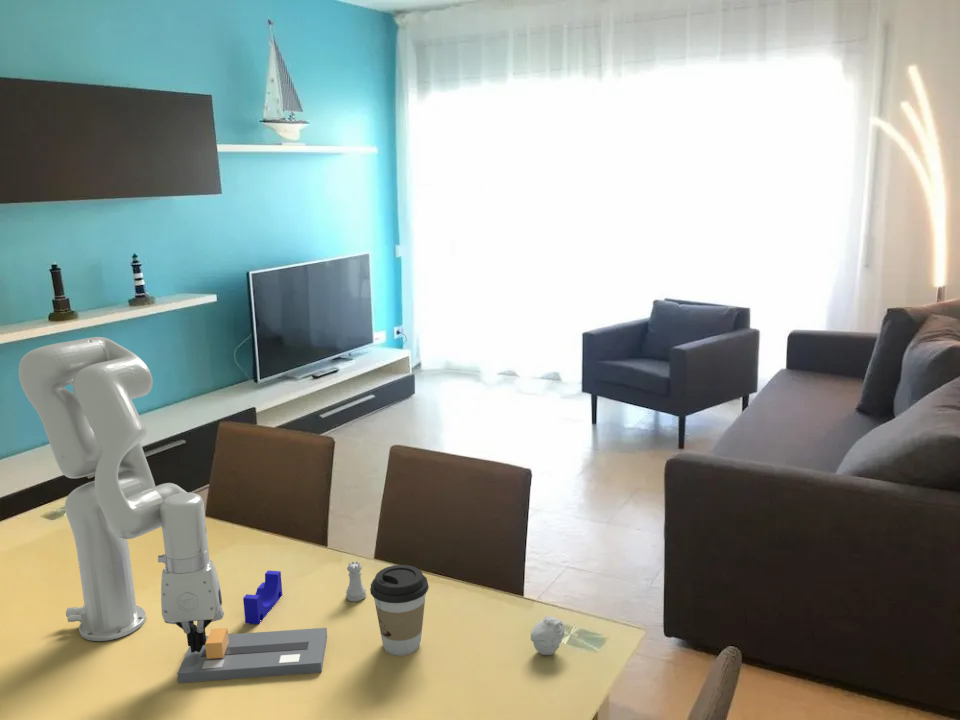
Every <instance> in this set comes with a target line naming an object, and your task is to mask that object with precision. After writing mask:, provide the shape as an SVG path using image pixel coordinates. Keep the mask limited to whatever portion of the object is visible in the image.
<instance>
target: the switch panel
mask: <svg viewBox="0 0 960 720" xmlns="http://www.w3.org/2000/svg"><path fill="white" fill-rule="evenodd" d="M327 628H328V627H317V628H316V627H315V628H303V629H302V628H300V629H288V630H287V629H285V630H273V631H259V632H247V633H246V632H244V633H232V634H231V633H228V639H229V644H228V646H227V649H226V652H225V654H224V657H223V658H212V659H207V655H206V646H205V645H203V647H202V649H201V651H200V652H197V651H196V652H193V653H191V646H188V649H187V652H186V654H185V655H184V658H183V660H182V662H181V664H180V666H179V669H178V671H177V675H176V676H177V683H178V684H181V683H182V684H184V683H195V682H209V681H210V682H211V681H222V680H225V681H226V680H236V679H248V678H251V679H252V678H264V677H276V676H278V677H279V676H289V675H292V676H293V675H302V674H303V675H304V674H306V675H307V674H318V673H322V672H323V666H324V659H325V653H326V647H327V641H328V629H327ZM208 636H209V635H206V641H207V638H208Z"/></svg>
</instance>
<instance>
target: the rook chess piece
mask: <svg viewBox="0 0 960 720" xmlns="http://www.w3.org/2000/svg"><path fill="white" fill-rule="evenodd" d="M346 569H347V571H348V578H349V583H348V584H349V585H348V586H347V589H346V592H345V598H346V599H347V600H348V601H349V602H353V603H355V602H356V601H357V602H360V601H363V600H364V599H365V598H366V596H367V593H366V591H367V590H366V588H365V586H364V585H363V583H362V578H361V577H362V572H361V570H362V569H363V567H362V565H361V562H359V561H354V560H353V561H351V562H348V566H347V568H346ZM362 599H363V600H362Z"/></svg>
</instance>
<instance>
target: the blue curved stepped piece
mask: <svg viewBox="0 0 960 720" xmlns="http://www.w3.org/2000/svg"><path fill="white" fill-rule="evenodd" d="M282 583H283V582H282V572H281V571H280V570H267V571H266V572H265V573H264V582H263V581H262V582H261V583H260V585H259V586H258V587H257V588H256V591H255V594H245V595H244V596H243V598H242V601H243V610H244V611H243V612H244V620H245V623H244V624H247V623H250V624H251V625H260V624H261V623H262V621H264V619H265V618H264V617H267V615H268V614H269V613H268V612H270V611H271V610H272V609H273V608H274V607H275V606H276V604H277V603H276V602H279V600H280V599H281V598H282V597H283V585H282ZM281 596H282V597H281ZM280 597H281V598H280ZM272 607H273V608H272ZM267 613H268V614H267ZM263 618H264V619H263ZM260 620H262V621H260ZM260 622H261V623H260ZM250 624H249V625H250Z"/></svg>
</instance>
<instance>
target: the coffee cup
mask: <svg viewBox="0 0 960 720" xmlns="http://www.w3.org/2000/svg"><path fill="white" fill-rule="evenodd" d="M429 588H430V587H429V583H428V578H427V576H425V575H424V574H423V572H422V570H421V569H420V568H418V567H416V566H413V565H408V564H396V565H391V566H387V567H384V568H382V569H381V570H379V571H378V572H377V573H376V575H375V577H374V578H373V579H372V581H371V583H370V588H369V591H370V594H371V596H372V597H373V598H374V605H375V610H376V616H377V619H378V620H377V621H378V627H379V631H380V635H381V642H382V645H383V647H384V650H385V652H386V653H388V654H390V655H393V656H398V657H400V656H408V655H410V654H411V655H412V654H413V653H415V652H416V651H417V650H418V649H419V648H420V644H421V641H422V633H423V623H424V615H425V614H424V613H425V604H426V594H427V592H428V591H429Z"/></svg>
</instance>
